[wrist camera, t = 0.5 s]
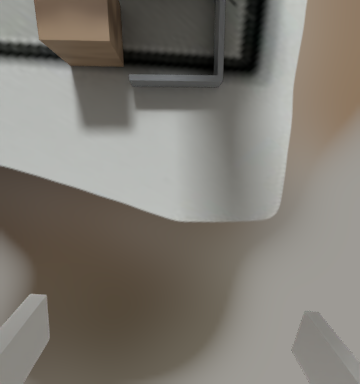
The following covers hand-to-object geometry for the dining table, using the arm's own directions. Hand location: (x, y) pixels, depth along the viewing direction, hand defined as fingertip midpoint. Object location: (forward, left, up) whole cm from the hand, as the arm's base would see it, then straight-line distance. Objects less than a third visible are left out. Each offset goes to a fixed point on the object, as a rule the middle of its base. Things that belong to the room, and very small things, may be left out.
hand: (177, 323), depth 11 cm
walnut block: (-25, -11, -27) cm, 38 cm away
